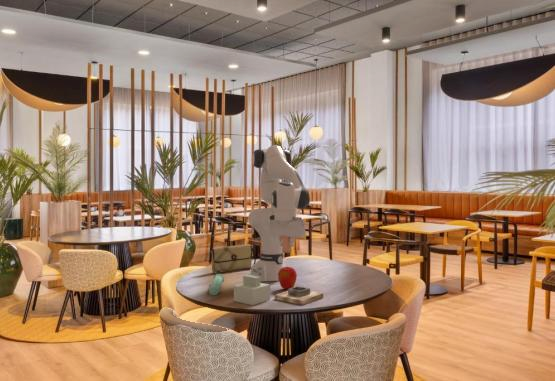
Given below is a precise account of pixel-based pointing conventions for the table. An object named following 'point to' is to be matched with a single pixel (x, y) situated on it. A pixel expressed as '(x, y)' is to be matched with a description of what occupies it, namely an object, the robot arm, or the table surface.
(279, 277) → the apple
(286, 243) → the pin
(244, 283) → the housing
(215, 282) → the pale green rod
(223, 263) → the clutch purse
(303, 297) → the socket plate
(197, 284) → the table surface
